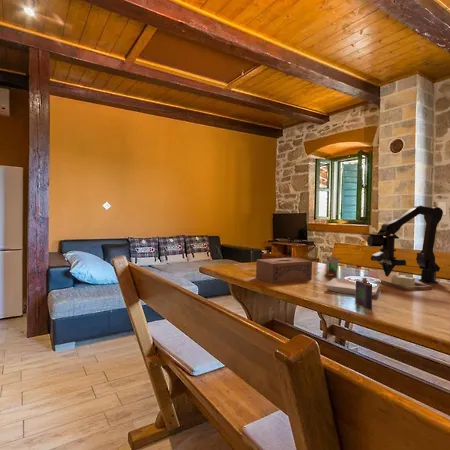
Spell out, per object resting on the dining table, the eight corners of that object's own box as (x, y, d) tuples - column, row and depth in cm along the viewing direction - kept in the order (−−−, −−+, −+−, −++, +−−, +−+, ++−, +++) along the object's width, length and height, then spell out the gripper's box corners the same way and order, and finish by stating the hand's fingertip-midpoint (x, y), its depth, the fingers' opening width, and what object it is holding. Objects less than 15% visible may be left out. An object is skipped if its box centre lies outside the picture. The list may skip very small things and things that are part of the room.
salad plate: (380, 289, 151) (380, 282, 151) (375, 299, 132) (376, 291, 132) (334, 283, 162) (334, 277, 161) (323, 292, 143) (323, 284, 143)
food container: (340, 277, 175) (340, 259, 175) (328, 277, 177) (329, 259, 176) (337, 273, 187) (337, 256, 187) (326, 273, 189) (326, 256, 188)
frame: (405, 282, 167) (405, 279, 167) (432, 289, 152) (432, 286, 152) (380, 283, 163) (380, 280, 163) (404, 290, 148) (405, 287, 148)
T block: (401, 282, 167) (401, 275, 166) (417, 285, 160) (417, 277, 160) (391, 284, 161) (391, 276, 161) (407, 287, 154) (408, 279, 154)
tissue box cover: (293, 274, 183) (294, 257, 183) (311, 279, 170) (312, 261, 170) (256, 278, 171) (256, 259, 171) (272, 283, 158) (272, 263, 158)
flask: (353, 302, 127) (354, 275, 127) (360, 302, 127) (361, 275, 127) (367, 309, 118) (368, 280, 117) (374, 309, 118) (375, 280, 118)
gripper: (363, 245, 175) (362, 273, 176) (389, 249, 157) (388, 280, 158) (379, 245, 178) (378, 272, 179) (407, 249, 161) (406, 279, 161)
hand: (386, 276), depth 169 cm, fingers closed
